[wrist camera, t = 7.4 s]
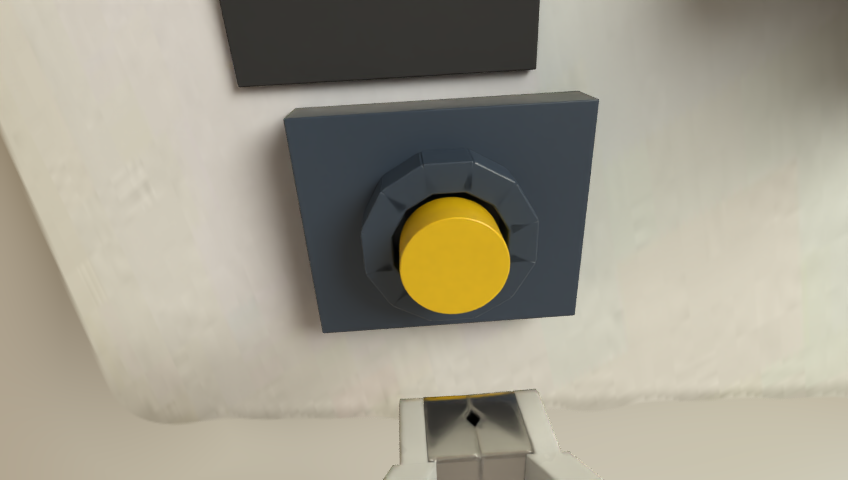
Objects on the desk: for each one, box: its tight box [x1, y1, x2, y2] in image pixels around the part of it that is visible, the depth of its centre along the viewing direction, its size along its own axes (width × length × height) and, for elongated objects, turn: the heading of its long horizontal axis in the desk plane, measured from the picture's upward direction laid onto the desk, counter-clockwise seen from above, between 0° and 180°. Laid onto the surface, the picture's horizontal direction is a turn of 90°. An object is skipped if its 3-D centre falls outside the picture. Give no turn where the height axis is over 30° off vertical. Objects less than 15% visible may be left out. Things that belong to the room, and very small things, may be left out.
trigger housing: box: [284, 91, 599, 333], centre depth 20 cm, size 12×10×4 cm
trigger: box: [399, 197, 510, 314], centre depth 17 cm, size 4×4×2 cm
